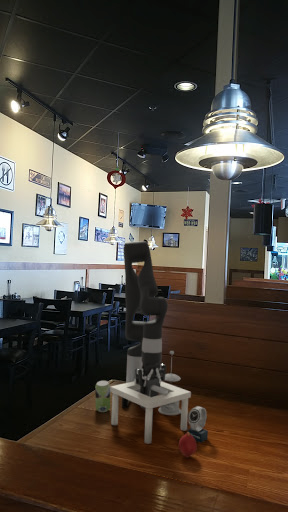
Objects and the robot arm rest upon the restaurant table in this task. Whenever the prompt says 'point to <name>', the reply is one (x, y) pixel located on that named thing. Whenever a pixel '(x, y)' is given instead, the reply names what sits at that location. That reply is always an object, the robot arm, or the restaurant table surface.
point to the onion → (187, 445)
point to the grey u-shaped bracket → (149, 392)
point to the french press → (174, 406)
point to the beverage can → (102, 396)
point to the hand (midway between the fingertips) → (150, 394)
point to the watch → (198, 418)
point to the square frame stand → (150, 402)
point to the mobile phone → (125, 402)
